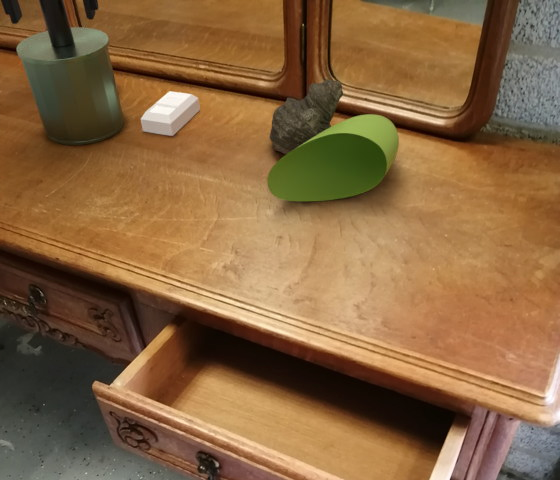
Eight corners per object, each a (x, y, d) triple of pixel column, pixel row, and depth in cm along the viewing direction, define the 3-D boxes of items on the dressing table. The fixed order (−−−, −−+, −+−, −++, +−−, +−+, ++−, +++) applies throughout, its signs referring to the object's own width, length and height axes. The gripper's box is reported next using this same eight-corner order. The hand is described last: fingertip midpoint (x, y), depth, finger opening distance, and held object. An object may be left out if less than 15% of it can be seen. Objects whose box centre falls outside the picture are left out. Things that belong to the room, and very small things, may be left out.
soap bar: (199, 109, 92) (197, 92, 90) (172, 136, 86) (169, 117, 84) (171, 105, 93) (168, 88, 91) (142, 131, 87) (139, 113, 85)
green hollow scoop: (363, 151, 62) (418, 93, 75) (261, 151, 68) (329, 97, 81) (368, 221, 67) (419, 154, 80) (273, 215, 72) (336, 154, 85)
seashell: (343, 129, 73) (370, 95, 79) (268, 64, 71) (301, 34, 77) (298, 188, 82) (325, 154, 87) (230, 132, 80) (262, 100, 86)
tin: (39, 147, 85) (11, 66, 76) (53, 112, 92) (29, 35, 84) (120, 142, 85) (100, 61, 77) (127, 108, 93) (110, 30, 85)
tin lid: (10, 72, 77) (-12, 10, 71) (29, 39, 85) (11, -20, 80) (105, 66, 77) (90, 4, 72) (115, 34, 85) (102, -25, 80)
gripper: (-84, -147, 62) (-20, 32, 75) (81, -154, 63) (118, 24, 76) (-63, -157, 67) (-6, 12, 80) (91, -163, 68) (123, 5, 81)
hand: (54, 18), depth 78 cm, fingers open, 9 cm apart
